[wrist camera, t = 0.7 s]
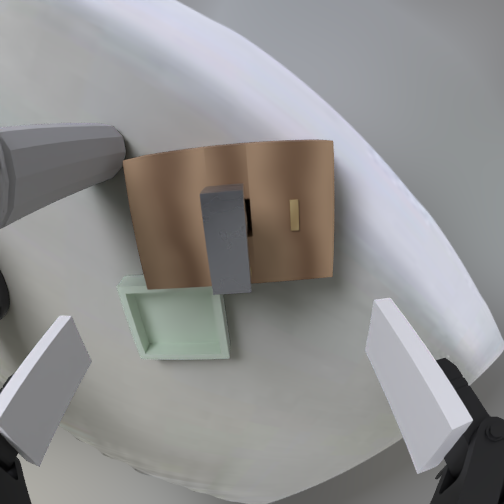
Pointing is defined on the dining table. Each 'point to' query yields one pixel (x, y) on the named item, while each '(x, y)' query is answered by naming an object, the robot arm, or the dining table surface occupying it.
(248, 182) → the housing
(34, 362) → the robot arm
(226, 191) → the t key
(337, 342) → the dining table surface
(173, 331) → the tray
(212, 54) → the dining table surface
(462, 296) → the dining table surface
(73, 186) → the water bottle
